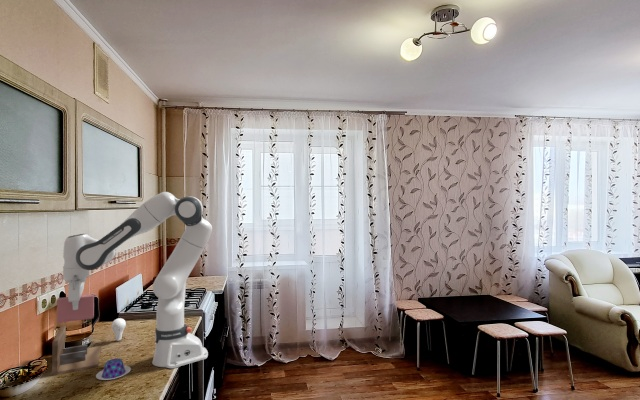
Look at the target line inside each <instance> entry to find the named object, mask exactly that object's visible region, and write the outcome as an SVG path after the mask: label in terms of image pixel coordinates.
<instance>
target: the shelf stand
mask: <svg viewBox="0 0 640 400" xmlns="http://www.w3.org/2000/svg"><path fill="white" fill-rule="evenodd" d="M66 328H67V325H61V326H60V328H59V329H58V332H57V334H56V335H55V336H54V339H53V341H52V342H51V343H52V346H51V347H52V352H51V353H52V355H51V357H52V358H51V359H52V360H51V362H52V365H51V367H52V368H51V371H50V373H49V376H50V377H52V376H57V375H62V374H67V373H72V372H77V371H83V370H88V369H93V368H98V367H99V364H100V357H101V352H102V345H99V346H98V345H97V346H92V347H88V344H83V345H81V344H80V345H75V346H70V347H69V346H68V347H66V348H65V341H66V339H67V337H66V333H67V332H66V331H67V330H66Z"/></svg>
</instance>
